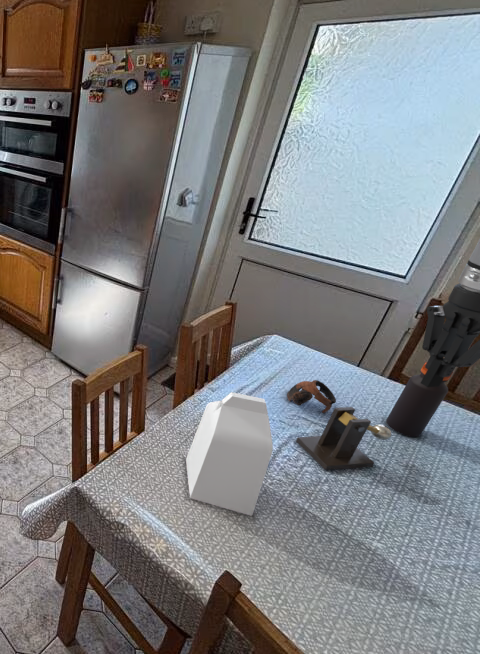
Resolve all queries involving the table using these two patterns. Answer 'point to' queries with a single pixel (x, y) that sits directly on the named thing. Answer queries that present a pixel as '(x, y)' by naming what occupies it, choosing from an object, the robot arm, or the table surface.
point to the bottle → (416, 405)
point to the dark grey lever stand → (338, 443)
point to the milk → (230, 453)
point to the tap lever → (376, 430)
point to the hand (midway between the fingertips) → (429, 384)
